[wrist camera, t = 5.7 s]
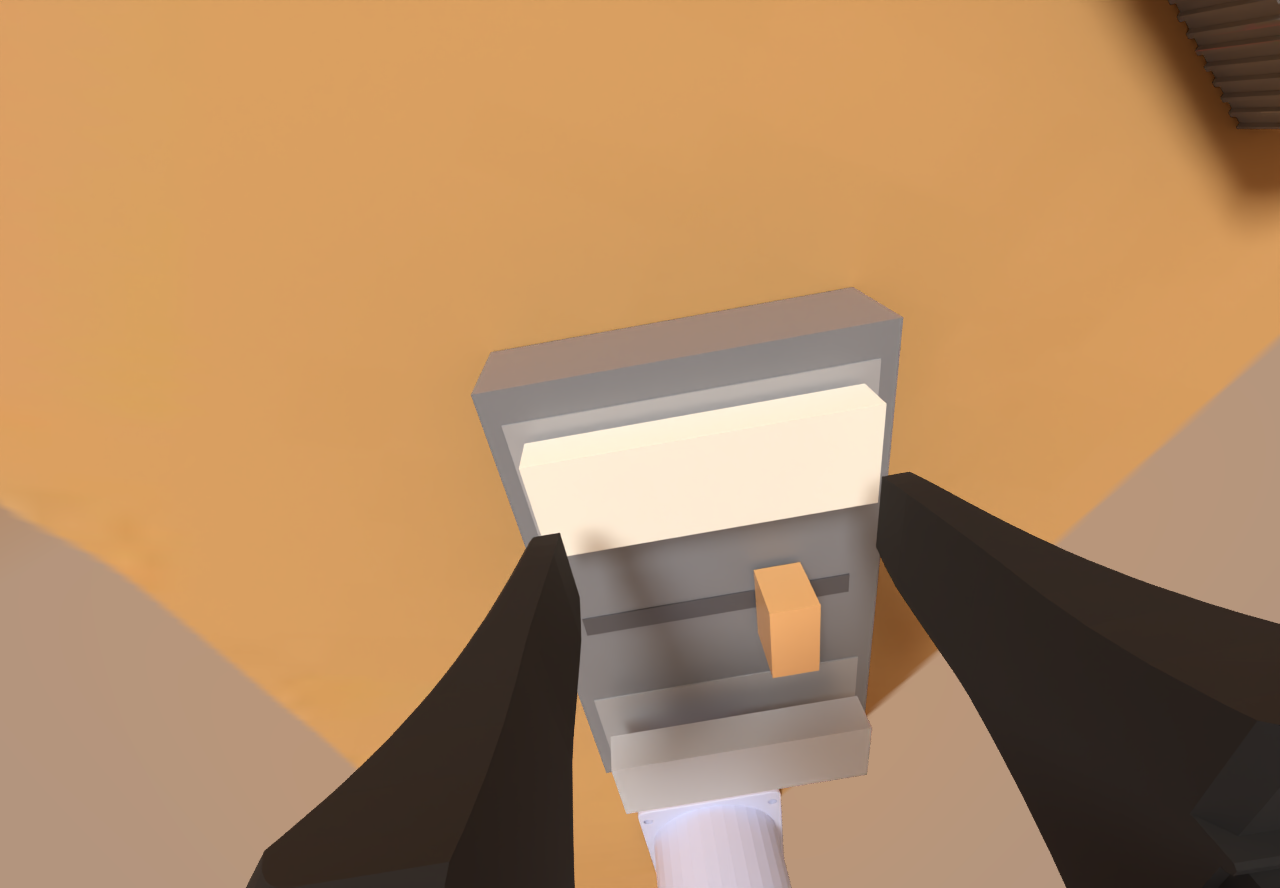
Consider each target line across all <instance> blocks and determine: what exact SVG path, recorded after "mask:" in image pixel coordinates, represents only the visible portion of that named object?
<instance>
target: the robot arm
mask: <svg viewBox="0 0 1280 888" xmlns="http://www.w3.org/2000/svg"><path fill="white" fill-rule="evenodd" d="M876 548H877V550H878V552H879V554H880V557H881V559H882V561H883V563H884V565H885V567H886V569H887V571H888V573H889V575H890V577H891V578H892V580H893V582H894V584H895V586H896V588H897V589H898V591H899V592H900V594H901V595H902V597H903V598H904V600H905V601H906V603H907V604H908V606H909V607H910V609H911V610H912V612H913V613H914V615H915V616H916V618H917V619H918V621H919V622H920V624H921V625H922V626H923V628H924V629H925V631H926V632H927V634H928V635H929V637H930V638H931V640H932V641H933V642H934V644H935V645H936V647H937V648H938V650H939V651H940V653H941V654H942V656H943V657H944V659H945V660H946V661H947V663H948V664H949V666H950V667H951V669H952V670H953V672H954V673H955V674H956V676H957V678H958V679H959V681H960V682H961V684H962V686H963V687H964V689H965V690H966V692H967V694H968V695H969V697H970V698H971V700H972V702H973V704H974V706H975V708H976V709H977V711H978V713H979V715H980V717H981V718H982V720H983V722H984V724H985V726H986V728H987V729H988V731H989V733H990V734H991V737H992V738H993V740H994V742H995V744H996V746H997V748H998V750H999V752H1000V753H1001V755H1002V757H1003V759H1004V761H1005V763H1006V765H1007V767H1008V769H1009V770H1010V773H1011V775H1012V776H1013V778H1014V780H1015V782H1016V784H1017V786H1018V788H1019V790H1020V792H1021V794H1022V796H1023V798H1024V800H1025V802H1026V804H1027V806H1028V808H1029V810H1030V812H1031V814H1032V816H1033V818H1034V820H1035V822H1036V824H1037V826H1038V828H1039V830H1040V833H1041V835H1042V837H1043V839H1044V841H1045V843H1046V845H1047V847H1048V849H1049V851H1050V853H1051V855H1052V857H1053V860H1054V862H1055V864H1056V866H1057V868H1058V871H1059V873H1060V875H1061V877H1062V879H1063V881H1064V884H1065V886H1066V888H1280V624H1278V623H1274V622H1270V621H1267V620H1263V619H1260V618H1256V617H1252V616H1248V615H1245V614H1242V613H1238V612H1235V611H1232V610H1229V609H1225V608H1222V607H1219V606H1215V605H1212V604H1209V603H1206V602H1202V601H1200V600H1196V599H1193V598H1191V597H1188V596H1185V595H1181V594H1178V593H1176V592H1173V591H1169V590H1167V589H1164V588H1161V587H1158V586H1155V585H1151V584H1149V583H1146V582H1144V581H1141V580H1138V579H1135V578H1132V577H1130V576H1127V575H1125V574H1122V573H1120V572H1117V571H1115V570H1112V569H1109V568H1107V567H1104V566H1102V565H1099V564H1096V563H1094V562H1092V561H1089V560H1086V559H1084V558H1082V557H1080V556H1077V555H1075V554H1073V553H1070V552H1068V551H1065V550H1063V549H1061V548H1059V547H1057V546H1055V545H1053V544H1050V543H1048V542H1046V541H1044V540H1042V539H1040V538H1037V537H1035V536H1033V535H1031V534H1029V533H1027V532H1025V531H1023V530H1021V529H1019V528H1017V527H1015V526H1013V525H1011V524H1009V523H1007V522H1005V521H1003V520H1001V519H999V518H997V517H995V516H993V515H991V514H989V513H987V512H985V511H983V510H981V509H980V508H978V507H976V506H974V505H972V504H970V503H968V502H966V501H965V500H963V499H961V498H959V497H957V496H955V495H953V494H952V493H950V492H948V491H946V490H944V489H942V488H940V487H939V486H937V485H935V484H933V483H931V482H929V481H927V480H925V479H923V478H921V477H919V476H917V475H915V474H913V473H911V472H906V473H900V474H894V475H888V476H883V477H882V482H881V493H880V505H879V516H878V528H877V539H876ZM580 653H581V611H580V596H579V593H578V590H577V587H576V583H575V580H574V577H573V574H572V570H571V567H570V564H569V560H568V557H567V554H566V551H565V547H564V544H563V541H562V538H561V534H560V533H555V534H549V535H543V536H537V537H533V538H532V539H531V541H530V542H529V544H528V546H527V548H526V549H525V551H524V553H523V555H522V557H521V559H520V560H519V562H518V564H517V566H516V568H515V569H514V571H513V573H512V575H511V576H510V578H509V580H508V582H507V583H506V585H505V587H504V589H503V590H502V592H501V593H500V595H499V597H498V598H497V600H496V602H495V603H494V605H493V607H492V608H491V610H490V611H489V613H488V615H487V616H486V618H485V619H484V621H483V622H482V624H481V625H480V627H479V628H478V630H477V631H476V632H475V634H474V635H473V637H472V638H471V640H470V641H469V643H468V644H467V646H466V647H465V649H464V650H463V651H462V653H461V654H460V655H459V657H458V658H457V659H456V661H455V662H454V663H453V665H452V666H451V667H450V669H449V670H448V671H447V673H446V674H445V675H444V676H443V678H442V679H441V680H440V681H439V683H438V684H437V685H436V686H435V688H434V689H433V690H432V691H431V692H430V694H429V695H428V696H427V697H426V698H425V699H424V700H423V702H422V703H421V704H420V705H419V706H418V707H417V708H416V709H415V711H414V712H413V713H412V714H411V715H410V716H409V717H408V718H407V719H406V720H405V722H404V723H403V724H402V725H401V726H400V727H399V728H398V729H397V730H396V731H395V732H394V734H393V735H392V736H391V737H390V738H389V739H388V740H387V741H386V742H385V743H384V744H383V745H382V746H381V747H380V748H379V749H378V750H377V751H376V752H375V753H374V754H373V755H372V756H371V757H370V758H369V759H368V760H367V761H366V762H365V763H364V764H363V765H362V766H361V767H360V768H358V769H357V770H356V771H355V772H354V773H353V774H352V775H351V776H350V777H349V778H348V779H347V780H346V781H345V782H344V783H343V784H342V785H340V786H339V787H338V788H337V789H336V790H335V791H334V792H333V793H332V794H331V795H329V796H328V797H327V798H326V799H325V800H324V801H323V802H321V803H320V804H319V805H318V806H317V807H316V808H314V809H313V810H312V811H311V812H310V813H309V814H307V815H306V816H305V817H304V818H303V819H302V820H300V821H299V822H298V823H297V824H296V825H295V826H293V827H292V828H291V829H290V830H289V831H288V832H286V833H285V834H284V835H283V836H282V837H281V838H280V839H278V840H277V841H276V842H275V843H273V844H272V845H271V846H270V847H268V849H266V850H265V851H264V853H263V855H262V857H261V859H260V861H259V863H258V865H257V867H256V869H255V871H254V873H253V875H252V877H251V879H250V881H249V883H248V885H247V887H246V888H575V883H574V847H573V785H572V758H573V737H574V725H575V714H576V702H577V690H578V678H579V666H580ZM638 819H639V822H640V825H641V828H642V831H643V834H644V837H645V840H646V843H647V846H648V849H649V852H650V855H651V859H652V862H653V865H654V868H655V871H656V874H657V885H658V888H791V884H790V880H789V876H788V872H787V869H786V865H785V861H784V855H783V834H782V811H781V794H780V790H779V789H776V790H770V791H763V792H757V793H751V794H745V795H739V796H733V797H727V798H721V799H715V800H708V801H702V802H696V803H690V804H684V805H678V806H672V807H666V808H659V809H653V810H647V811H641V812H638Z"/></svg>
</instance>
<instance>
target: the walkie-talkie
mask: <svg viewBox="0 0 1280 888" xmlns="http://www.w3.org/2000/svg"><path fill="white" fill-rule="evenodd" d="M1168 2H1169V4H1170V5H1171V4H1175V3H1176V5H1177V7H1178V9H1179V11H1180V13H1179V14H1178V16H1177V18H1178V20H1179V22H1183V21H1185V22H1186V24H1187V26H1188V28H1189V30H1188V32H1187V33H1186V35H1187V37H1188V39H1192V38H1194V39H1195V41H1196V43H1197V45H1198V47H1197V49H1196V50H1195V52H1196V54H1197V55H1203V56H1204V58H1205V60H1206V62H1207V63H1206V64H1205V66H1204V68H1205V70H1206V72H1207V71H1212V73H1213V74H1214V76H1215V79H1214V81H1213V82H1212V83H1213V85H1214V87H1220V88H1221V90H1222V91H1223V95H1222V96H1221V100H1222V102H1228V103H1229V104H1230V106H1231V110H1230V111H1229V115H1230V117H1236V118H1237V119H1238V121H1239V124H1238V126H1237V127H1236V128H1237V129H1280V0H1168Z"/></svg>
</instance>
